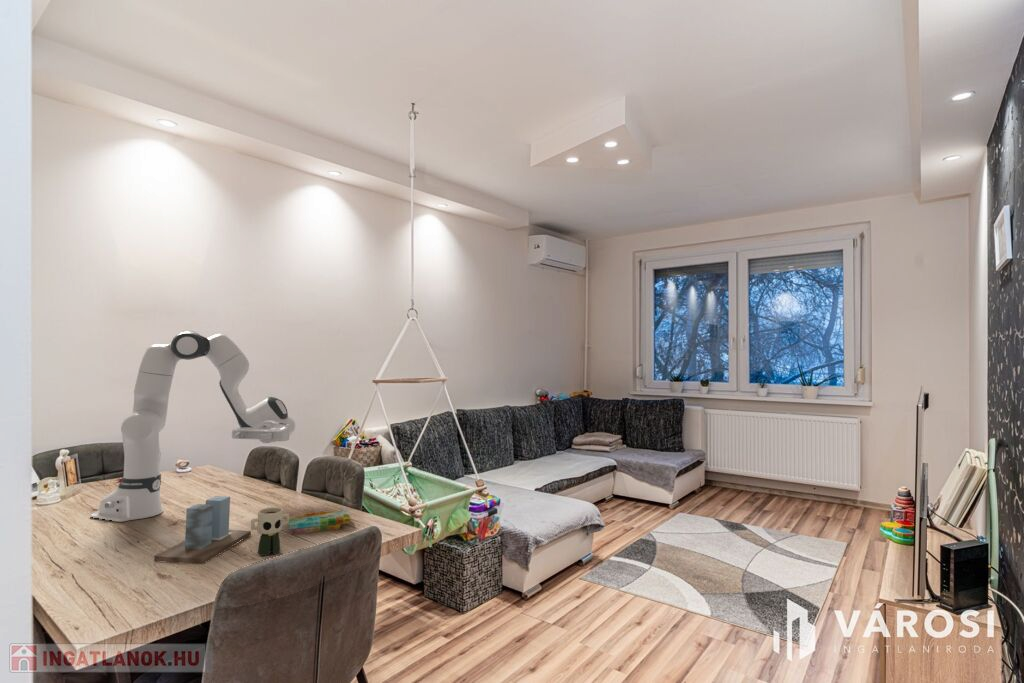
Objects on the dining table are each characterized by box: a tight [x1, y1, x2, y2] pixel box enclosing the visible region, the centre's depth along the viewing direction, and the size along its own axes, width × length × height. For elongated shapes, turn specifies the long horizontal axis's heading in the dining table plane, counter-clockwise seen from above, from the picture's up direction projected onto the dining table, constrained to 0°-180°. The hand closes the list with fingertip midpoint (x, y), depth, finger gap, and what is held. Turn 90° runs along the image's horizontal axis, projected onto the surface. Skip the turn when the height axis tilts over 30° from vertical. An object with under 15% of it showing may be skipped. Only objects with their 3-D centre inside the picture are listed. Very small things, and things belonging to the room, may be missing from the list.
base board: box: [153, 503, 252, 564], centre depth 161 cm, size 15×24×14 cm, turn 177°
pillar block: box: [205, 495, 231, 539], centre depth 167 cm, size 5×5×12 cm
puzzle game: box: [288, 509, 352, 535], centre depth 182 cm, size 12×5×20 cm
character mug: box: [250, 506, 290, 556], centre depth 158 cm, size 11×7×13 cm, turn 128°
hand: (249, 436), depth 191 cm, fingers open, 8 cm apart
